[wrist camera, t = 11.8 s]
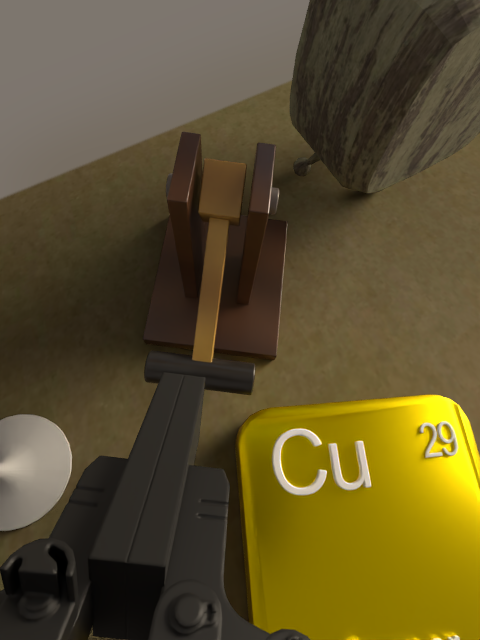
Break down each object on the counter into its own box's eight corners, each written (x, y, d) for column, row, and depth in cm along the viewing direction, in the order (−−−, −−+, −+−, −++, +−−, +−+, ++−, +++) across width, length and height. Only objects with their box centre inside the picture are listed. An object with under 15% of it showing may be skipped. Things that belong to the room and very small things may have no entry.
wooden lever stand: (274, 360, 29) (316, 291, 17) (145, 343, 29) (95, 261, 17) (285, 229, 33) (325, 98, 21) (172, 214, 33) (148, 73, 21)
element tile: (253, 677, 22) (262, 733, 17) (232, 416, 27) (235, 409, 23) (490, 641, 23) (555, 686, 19) (428, 400, 28) (468, 389, 24)
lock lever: (250, 389, 22) (252, 400, 20) (151, 377, 22) (141, 386, 20) (278, 182, 22) (283, 168, 19) (175, 168, 21) (167, 152, 19)
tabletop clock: (390, 116, 38) (662, -411, 15) (447, 179, 36) (878, -333, 13) (273, 167, 35) (389, -405, 12) (327, 240, 33) (610, -298, 9)
